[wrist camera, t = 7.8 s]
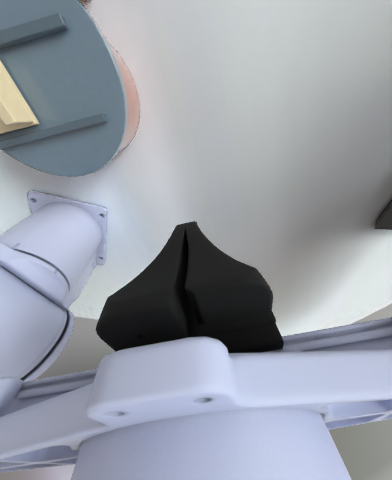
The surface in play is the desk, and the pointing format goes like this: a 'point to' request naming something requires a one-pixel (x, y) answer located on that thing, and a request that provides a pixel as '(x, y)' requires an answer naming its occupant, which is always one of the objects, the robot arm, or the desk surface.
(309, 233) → the desk surface
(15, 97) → the lid slider
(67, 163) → the tumbler
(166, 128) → the desk surface
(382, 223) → the computer monitor
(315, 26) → the desk surface
